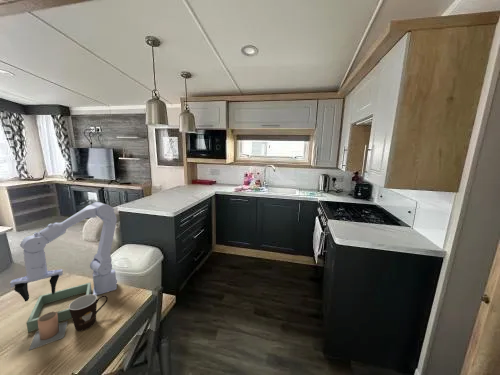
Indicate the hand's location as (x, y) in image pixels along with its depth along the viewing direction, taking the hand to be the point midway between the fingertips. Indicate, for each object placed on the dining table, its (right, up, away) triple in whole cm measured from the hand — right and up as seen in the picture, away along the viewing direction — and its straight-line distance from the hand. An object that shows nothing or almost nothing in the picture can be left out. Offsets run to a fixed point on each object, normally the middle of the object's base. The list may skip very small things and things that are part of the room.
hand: (40, 296), depth 82 cm
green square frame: (+4, -9, +6) cm, 11 cm away
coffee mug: (+21, -10, -1) cm, 24 cm away
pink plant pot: (+10, -10, -7) cm, 16 cm away
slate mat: (+11, -11, -7) cm, 17 cm away
